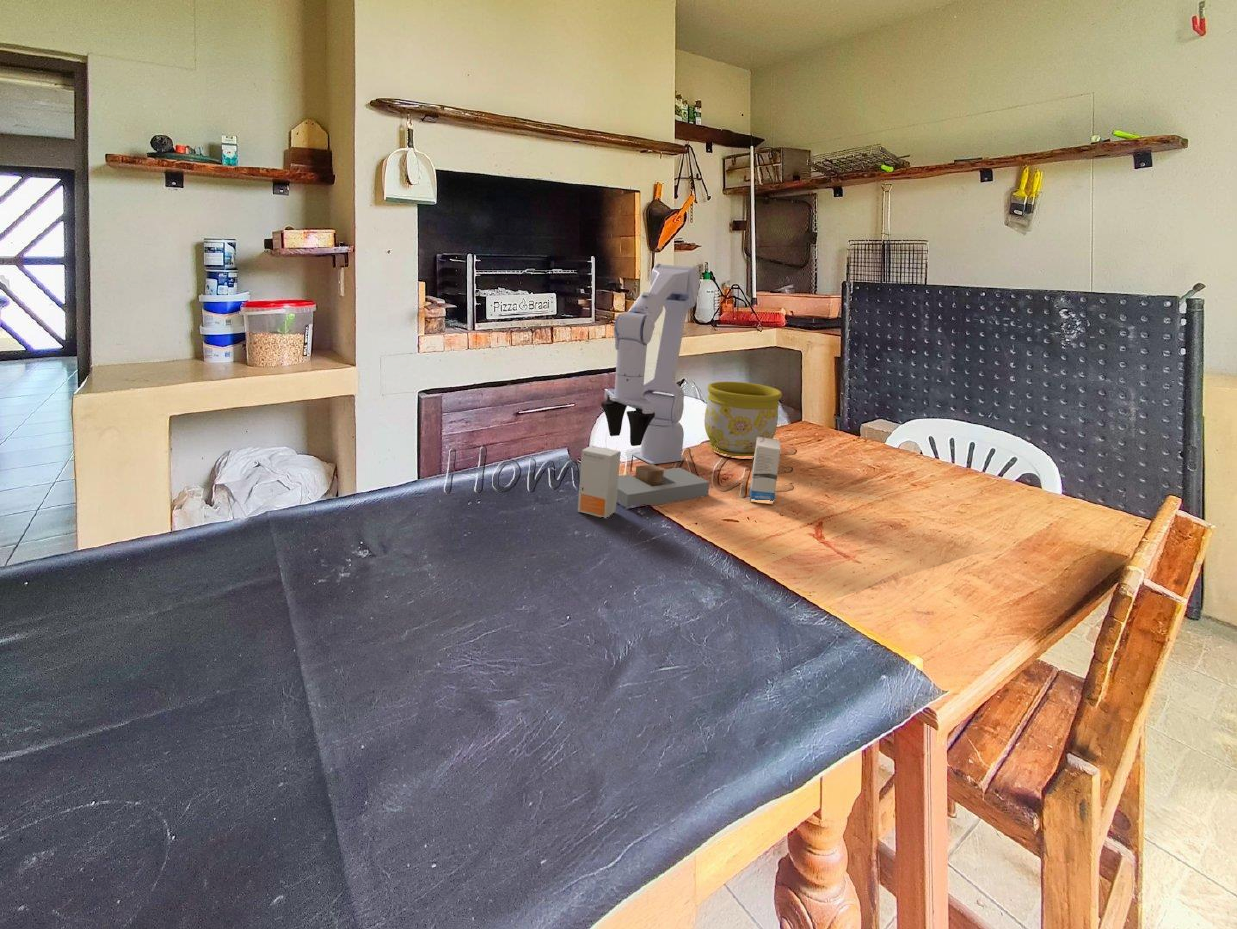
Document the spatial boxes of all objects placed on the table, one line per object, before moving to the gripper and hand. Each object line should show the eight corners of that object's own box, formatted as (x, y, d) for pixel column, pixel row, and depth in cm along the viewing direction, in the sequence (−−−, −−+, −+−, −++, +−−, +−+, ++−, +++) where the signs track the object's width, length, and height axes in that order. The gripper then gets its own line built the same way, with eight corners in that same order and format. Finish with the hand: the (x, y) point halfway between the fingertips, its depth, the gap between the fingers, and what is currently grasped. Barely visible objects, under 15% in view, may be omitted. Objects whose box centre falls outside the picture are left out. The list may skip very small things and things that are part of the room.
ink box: (773, 506, 137) (782, 449, 133) (748, 502, 137) (756, 446, 134) (772, 492, 145) (780, 438, 141) (749, 489, 145) (756, 435, 142)
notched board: (677, 480, 147) (679, 467, 146) (708, 495, 139) (709, 481, 139) (598, 492, 136) (599, 478, 136) (626, 509, 129) (628, 494, 128)
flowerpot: (744, 441, 184) (752, 380, 179) (787, 460, 169) (797, 395, 164) (687, 445, 176) (693, 381, 171) (727, 466, 161) (736, 397, 156)
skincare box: (576, 512, 125) (580, 449, 122) (587, 505, 129) (591, 444, 126) (606, 519, 123) (611, 456, 120) (616, 512, 127) (621, 450, 123)
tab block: (650, 487, 142) (652, 464, 141) (661, 493, 139) (663, 470, 138) (634, 489, 140) (636, 466, 139) (645, 495, 137) (647, 472, 135)
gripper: (593, 368, 139) (589, 432, 144) (634, 382, 128) (629, 451, 132) (622, 367, 143) (617, 430, 147) (664, 380, 132) (658, 448, 136)
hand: (625, 440), depth 140 cm, fingers open, 7 cm apart
